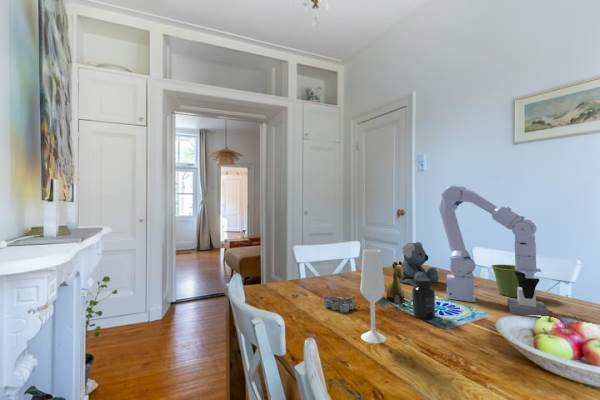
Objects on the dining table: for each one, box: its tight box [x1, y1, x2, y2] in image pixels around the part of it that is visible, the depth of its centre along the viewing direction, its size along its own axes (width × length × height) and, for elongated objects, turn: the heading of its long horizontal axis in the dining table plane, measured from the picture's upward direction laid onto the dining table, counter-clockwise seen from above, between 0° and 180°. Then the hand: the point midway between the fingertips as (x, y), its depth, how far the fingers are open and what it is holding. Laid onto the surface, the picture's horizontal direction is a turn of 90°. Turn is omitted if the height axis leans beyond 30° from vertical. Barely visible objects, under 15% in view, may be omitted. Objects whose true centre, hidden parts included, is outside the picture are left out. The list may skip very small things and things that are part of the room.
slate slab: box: [506, 297, 550, 316], centre depth 100 cm, size 10×10×3 cm
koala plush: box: [399, 241, 439, 287], centre depth 141 cm, size 17×18×20 cm
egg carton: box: [322, 295, 356, 313], centre depth 106 cm, size 11×8×4 cm
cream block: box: [517, 287, 537, 307], centre depth 100 cm, size 4×4×5 cm
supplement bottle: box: [411, 278, 436, 320], centre depth 97 cm, size 7×7×12 cm
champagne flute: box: [359, 248, 387, 344], centre depth 81 cm, size 7×7×24 cm
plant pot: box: [490, 264, 519, 298], centre depth 119 cm, size 12×12×11 cm
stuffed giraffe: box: [377, 260, 413, 309], centre depth 114 cm, size 16×18×16 cm
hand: (526, 295), depth 100 cm, fingers open, 7 cm apart
